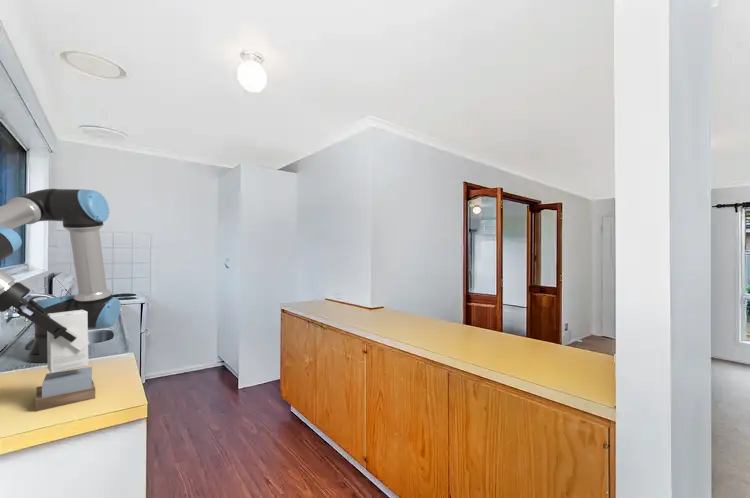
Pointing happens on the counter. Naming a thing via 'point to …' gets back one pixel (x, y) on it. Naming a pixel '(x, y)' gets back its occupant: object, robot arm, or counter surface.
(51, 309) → the robot arm
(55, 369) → the skincare box
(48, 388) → the tower top
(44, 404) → the tower base
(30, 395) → the counter surface
